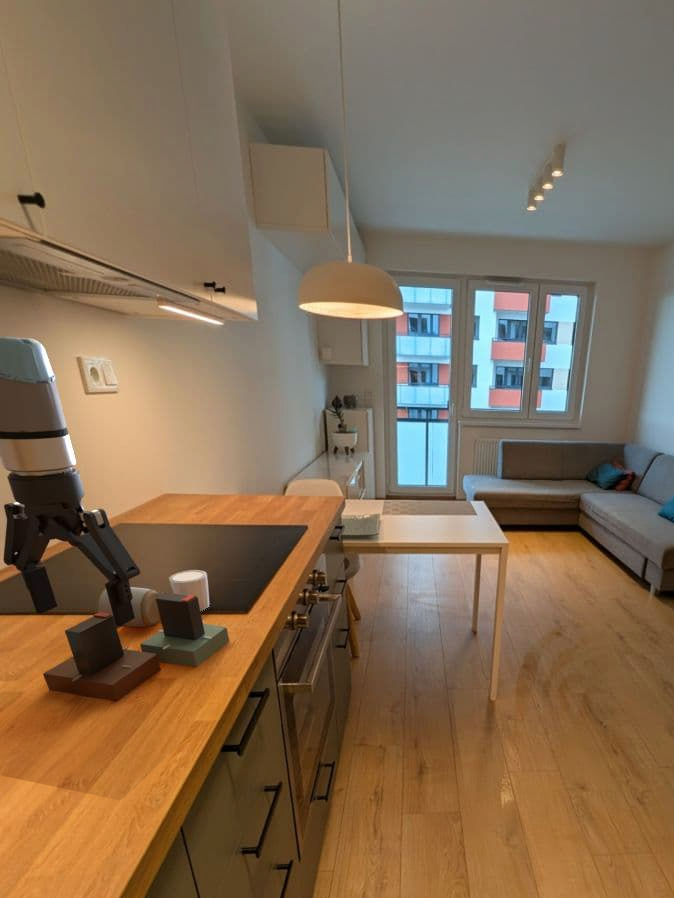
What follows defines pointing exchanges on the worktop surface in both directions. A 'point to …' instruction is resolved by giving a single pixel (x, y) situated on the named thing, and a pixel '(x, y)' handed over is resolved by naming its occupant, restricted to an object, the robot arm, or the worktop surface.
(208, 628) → the green square base
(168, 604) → the dark upright block
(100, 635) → the red-tabbed dark slab
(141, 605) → the grey lying cylinder
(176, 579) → the white cylinder
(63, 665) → the dark brown base plate
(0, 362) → the robot arm
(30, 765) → the worktop surface
